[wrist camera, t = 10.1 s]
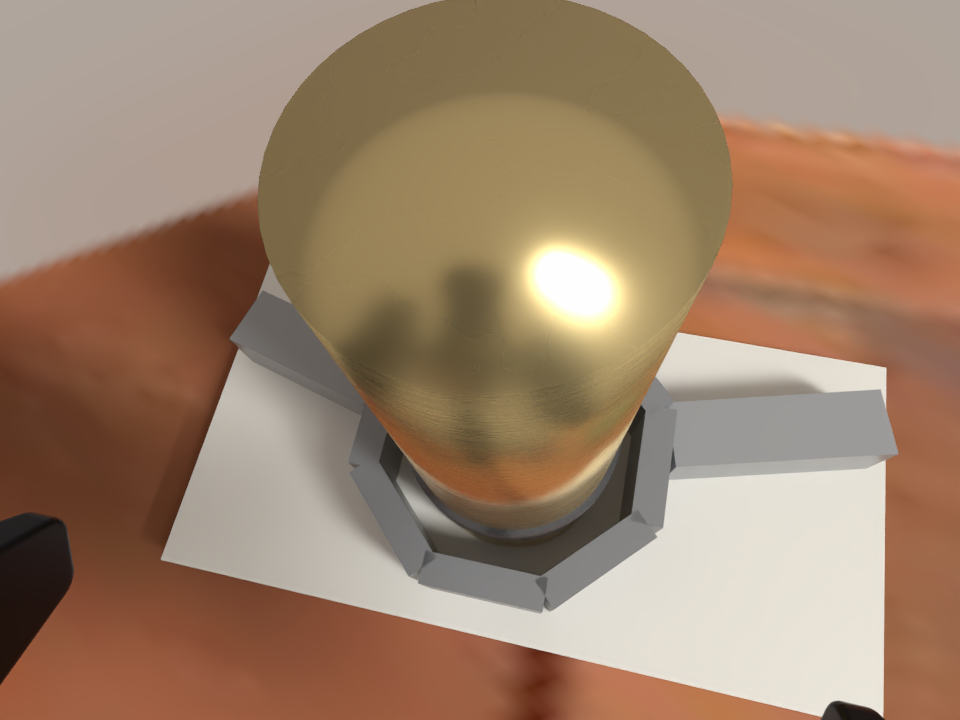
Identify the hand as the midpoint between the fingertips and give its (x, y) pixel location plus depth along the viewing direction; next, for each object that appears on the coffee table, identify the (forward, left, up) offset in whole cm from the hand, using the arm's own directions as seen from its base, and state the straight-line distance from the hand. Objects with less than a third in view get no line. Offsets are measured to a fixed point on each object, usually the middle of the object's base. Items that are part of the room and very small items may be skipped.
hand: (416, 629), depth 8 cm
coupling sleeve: (+4, +2, -12) cm, 13 cm away
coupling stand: (+4, +2, -13) cm, 14 cm away
